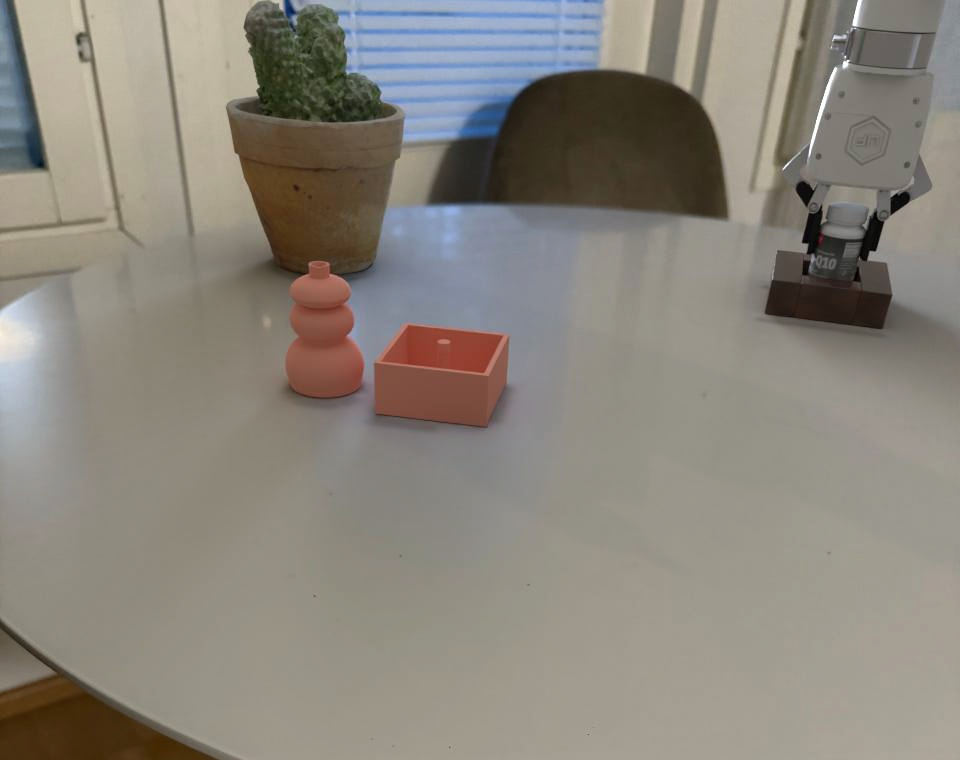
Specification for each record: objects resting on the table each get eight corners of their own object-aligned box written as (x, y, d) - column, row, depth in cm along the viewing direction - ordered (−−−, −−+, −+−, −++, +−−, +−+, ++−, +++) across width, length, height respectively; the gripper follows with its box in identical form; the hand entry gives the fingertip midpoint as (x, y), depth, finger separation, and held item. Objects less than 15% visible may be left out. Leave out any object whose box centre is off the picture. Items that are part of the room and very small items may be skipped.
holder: (877, 294, 107) (887, 262, 105) (882, 329, 98) (892, 294, 96) (769, 281, 109) (776, 249, 107) (764, 313, 100) (771, 279, 98)
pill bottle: (795, 285, 103) (814, 202, 98) (827, 280, 105) (848, 198, 100) (826, 298, 100) (848, 213, 95) (859, 293, 102) (882, 209, 97)
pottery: (506, 381, 83) (513, 265, 77) (486, 427, 75) (492, 301, 69) (308, 359, 85) (300, 244, 79) (269, 400, 78) (257, 277, 72)
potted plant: (262, 234, 116) (239, -13, 101) (414, 242, 116) (414, -5, 101) (224, 280, 102) (190, -1, 87) (398, 289, 102) (395, 9, 86)
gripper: (794, 49, 88) (752, 254, 99) (989, 64, 85) (923, 274, 96) (796, 42, 94) (756, 236, 105) (979, 55, 91) (918, 255, 102)
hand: (836, 252), depth 100 cm, fingers closed on pill bottle, 4 cm apart
